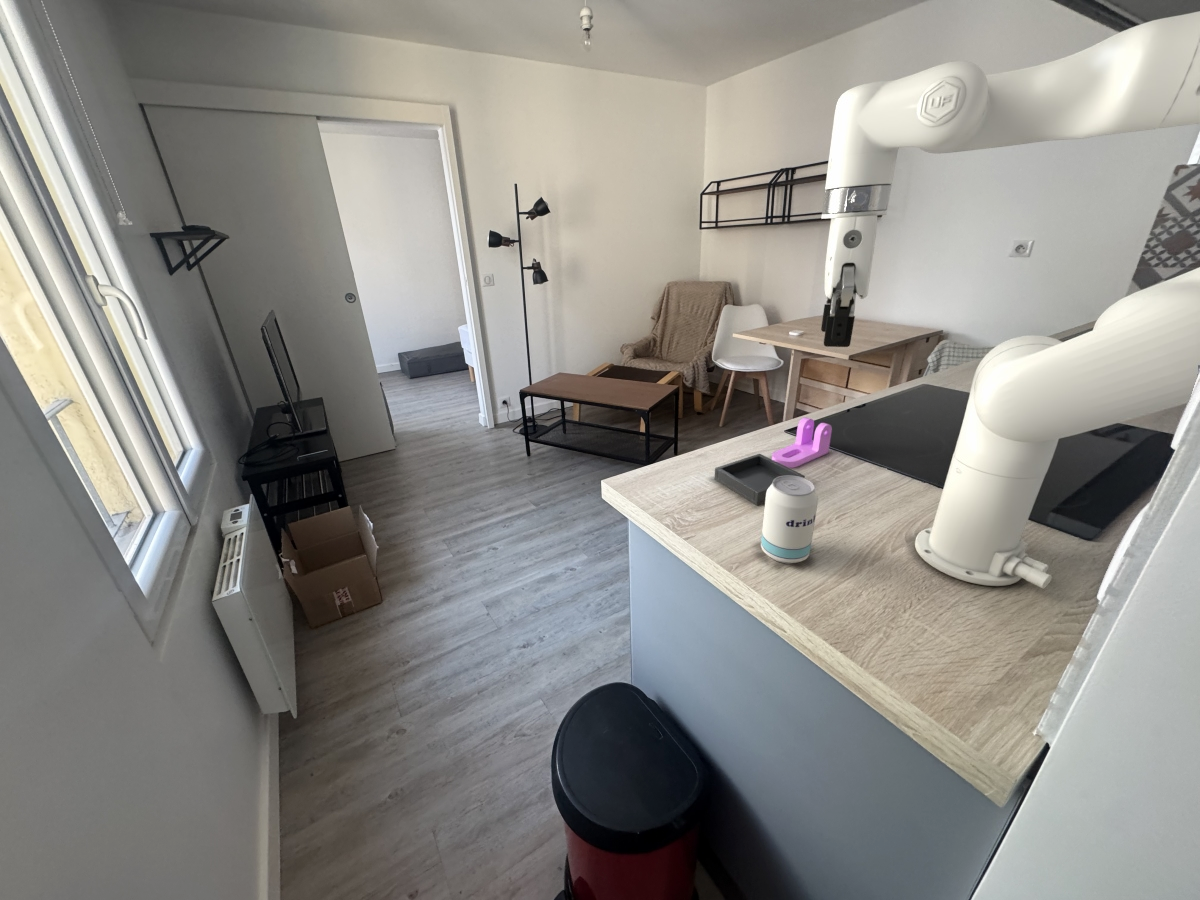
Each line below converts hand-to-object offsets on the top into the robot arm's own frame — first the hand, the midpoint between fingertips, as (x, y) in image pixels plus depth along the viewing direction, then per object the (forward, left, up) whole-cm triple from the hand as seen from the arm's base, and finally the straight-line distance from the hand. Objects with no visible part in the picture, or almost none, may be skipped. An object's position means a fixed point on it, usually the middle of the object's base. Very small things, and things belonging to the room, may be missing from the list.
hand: (834, 338), depth 67 cm
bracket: (+16, -16, -30) cm, 38 cm away
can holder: (+12, -1, -30) cm, 33 cm away
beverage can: (-6, +11, -30) cm, 33 cm away
